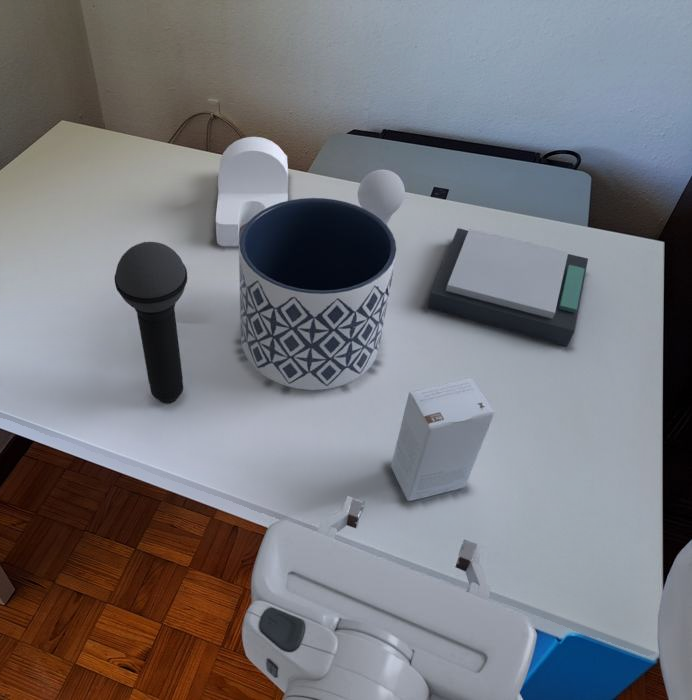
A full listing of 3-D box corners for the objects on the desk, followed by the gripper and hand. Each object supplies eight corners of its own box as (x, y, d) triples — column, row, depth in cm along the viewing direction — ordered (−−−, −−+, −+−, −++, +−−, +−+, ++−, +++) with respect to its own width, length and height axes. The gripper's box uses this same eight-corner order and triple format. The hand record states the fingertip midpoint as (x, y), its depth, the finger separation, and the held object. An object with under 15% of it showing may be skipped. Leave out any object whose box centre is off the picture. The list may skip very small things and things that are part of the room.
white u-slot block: (216, 246, 93) (212, 180, 85) (223, 173, 105) (221, 111, 98) (287, 246, 92) (289, 180, 85) (286, 173, 104) (288, 110, 97)
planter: (387, 393, 74) (409, 293, 63) (240, 393, 74) (237, 294, 64) (369, 295, 85) (385, 195, 74) (241, 296, 85) (239, 198, 75)
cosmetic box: (444, 453, 68) (472, 372, 59) (466, 491, 65) (499, 411, 56) (387, 467, 67) (406, 387, 58) (406, 506, 64) (430, 427, 55)
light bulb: (372, 219, 96) (381, 155, 88) (405, 238, 92) (418, 173, 85) (343, 236, 93) (350, 172, 86) (376, 257, 90) (386, 191, 83)
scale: (581, 273, 86) (591, 251, 84) (567, 346, 78) (577, 324, 75) (453, 243, 91) (459, 221, 89) (427, 308, 83) (432, 286, 80)
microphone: (152, 367, 77) (129, 221, 63) (207, 381, 76) (195, 234, 61) (127, 411, 73) (96, 264, 59) (184, 426, 71) (166, 279, 57)
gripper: (531, 751, 41) (561, 555, 49) (222, 609, 47) (296, 458, 56) (504, 776, 45) (536, 593, 54) (225, 644, 52) (293, 499, 60)
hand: (412, 523), depth 55 cm, fingers open, 8 cm apart
